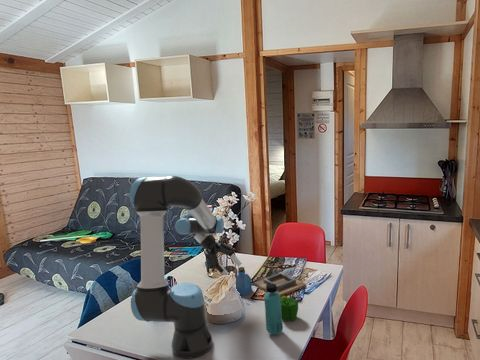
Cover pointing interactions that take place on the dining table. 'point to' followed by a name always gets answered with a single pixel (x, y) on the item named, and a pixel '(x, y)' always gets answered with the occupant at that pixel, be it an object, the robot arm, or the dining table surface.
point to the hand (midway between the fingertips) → (234, 270)
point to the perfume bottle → (243, 282)
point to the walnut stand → (281, 283)
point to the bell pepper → (289, 308)
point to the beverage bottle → (273, 310)
